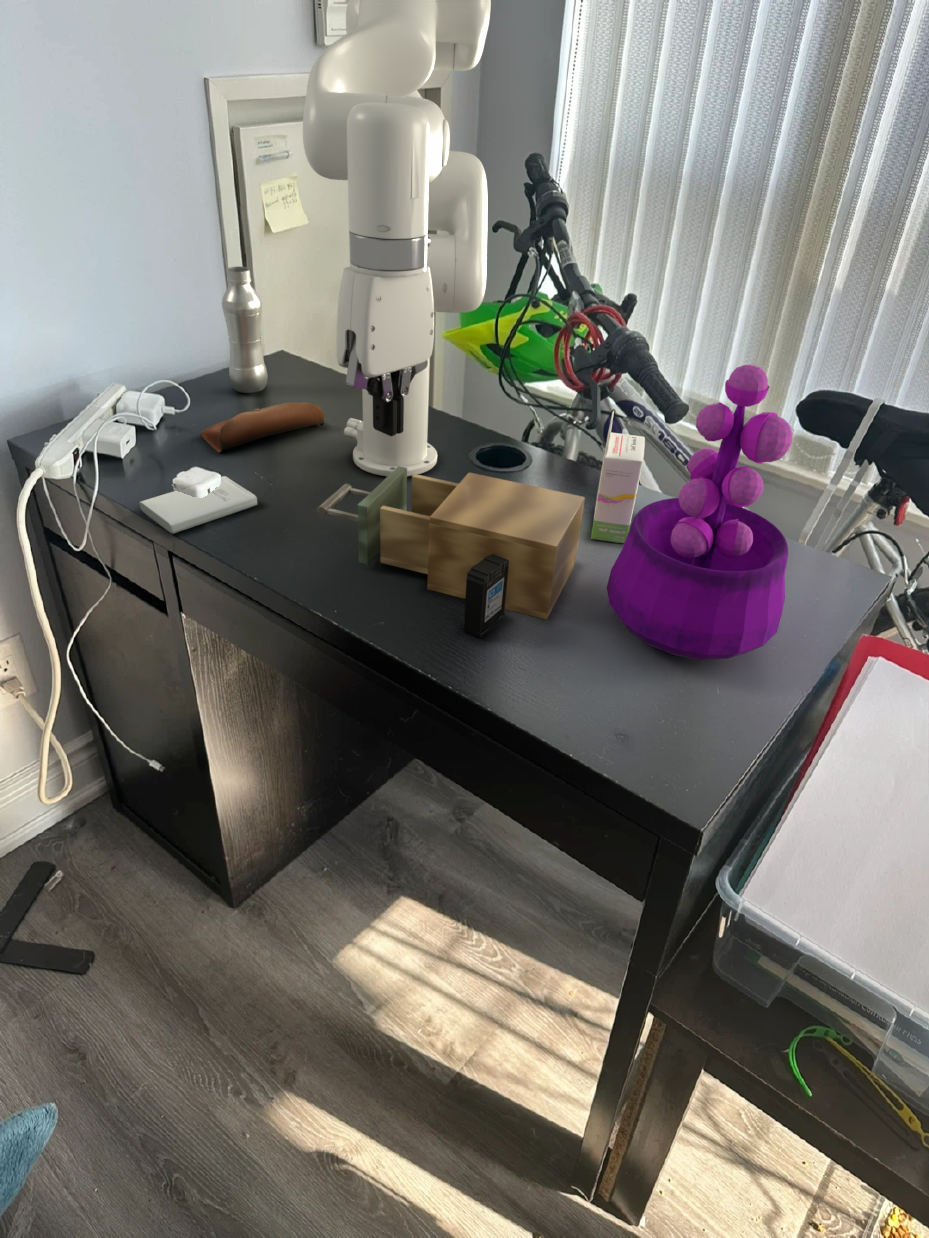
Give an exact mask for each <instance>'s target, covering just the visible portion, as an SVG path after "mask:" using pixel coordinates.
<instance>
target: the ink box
mask: <svg viewBox="0 0 929 1238" xmlns="http://www.w3.org/2000/svg"><path fill="white" fill-rule="evenodd" d="M614 413H615V411H614V410H613V411H612V412H611V417H610V421H609V427H608V432H607V437H606V443H605V447H604V453H603V458H602V464H601V468H600V469H601V470H600V475H599V481H598V486H597V494H596V501H595V507H594V514H593V522H592V528H591V535H590V539H591V540H596V541H603V542H609V543H610V542H611V543H616V544H617V543H619V544H624V543H625V540H626V538H627V535H628V532H629V530H630V527H631V524H632V520H633V513H634V508H635V503H636V498H637V494H638V489H639V483H640V479H641V473H642V469H643V463H644V456H645V445H646V438H645V436H641V435H635V434H627V433H618V432H612V427H613V420H614Z"/></svg>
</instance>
